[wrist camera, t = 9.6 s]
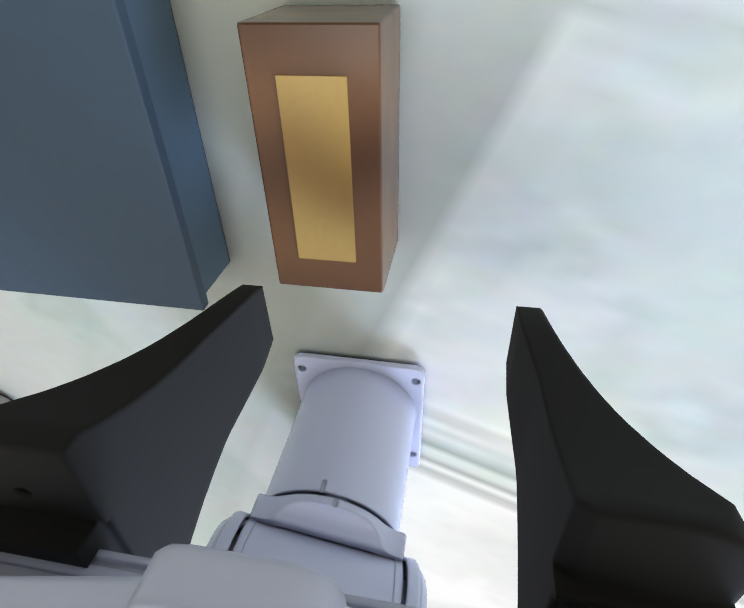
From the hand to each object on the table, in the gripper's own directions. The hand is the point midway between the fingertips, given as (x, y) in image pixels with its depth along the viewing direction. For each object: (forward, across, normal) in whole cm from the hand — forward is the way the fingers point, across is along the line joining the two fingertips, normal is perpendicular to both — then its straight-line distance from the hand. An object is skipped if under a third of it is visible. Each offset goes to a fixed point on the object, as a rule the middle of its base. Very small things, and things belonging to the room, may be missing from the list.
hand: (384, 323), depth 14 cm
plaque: (+10, +3, -2) cm, 11 cm away
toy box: (+10, +17, -2) cm, 20 cm away
